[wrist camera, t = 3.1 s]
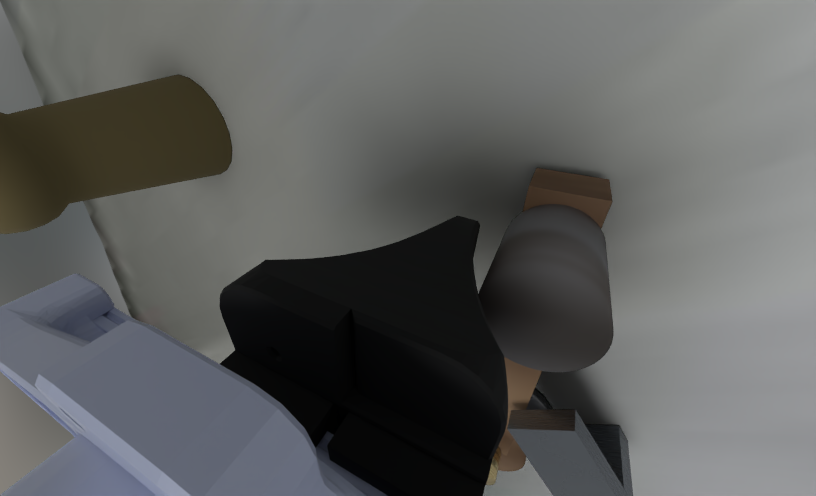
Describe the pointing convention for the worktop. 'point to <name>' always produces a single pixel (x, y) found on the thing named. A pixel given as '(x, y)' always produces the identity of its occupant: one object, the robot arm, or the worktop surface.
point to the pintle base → (535, 403)
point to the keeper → (573, 452)
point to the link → (550, 288)
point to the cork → (107, 148)
